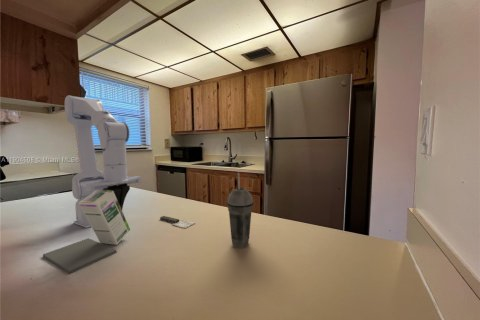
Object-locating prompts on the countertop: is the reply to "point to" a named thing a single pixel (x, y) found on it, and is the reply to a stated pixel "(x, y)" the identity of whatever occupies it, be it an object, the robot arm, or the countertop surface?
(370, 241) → the countertop surface
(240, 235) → the beverage cup
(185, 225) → the spatula
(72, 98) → the robot arm
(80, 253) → the mat
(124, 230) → the syrup box
